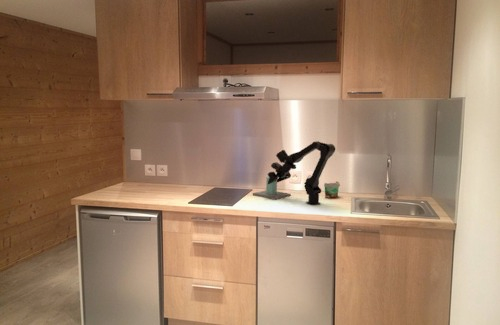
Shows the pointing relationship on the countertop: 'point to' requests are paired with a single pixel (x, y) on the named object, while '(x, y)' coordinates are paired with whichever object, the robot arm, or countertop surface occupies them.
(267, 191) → the block
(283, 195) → the mat
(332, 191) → the food container
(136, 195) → the countertop surface
